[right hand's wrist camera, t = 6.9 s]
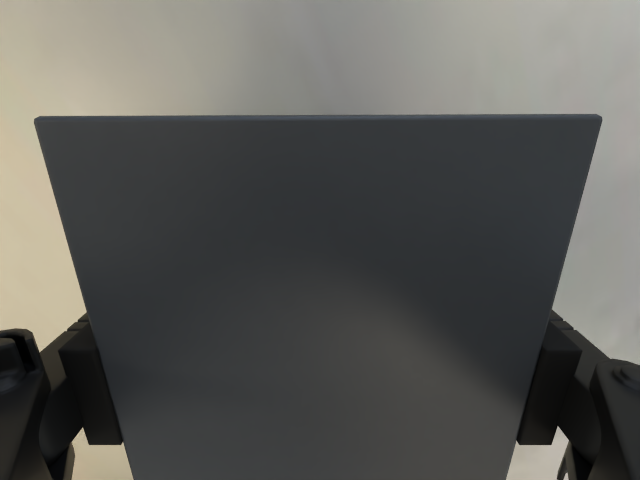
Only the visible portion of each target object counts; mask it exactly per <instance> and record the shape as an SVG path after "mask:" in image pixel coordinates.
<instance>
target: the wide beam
mask: <svg viewBox="0 0 640 480" xmlns="http://www.w3.org/2000/svg"><path fill="white" fill-rule="evenodd" d="M601 123H602V117H601V116H599V115H597V114H478V115H220V116H39V117H37V118H35V119H34V124H35V128H36V131H37V135H38V139H39V142H40V146H41V149H42V153H43V157H44V160H45V164H46V167H47V171H48V174H49V178H50V182H51V185H52V189H53V192H54V196H55V199H56V203H57V207H58V210H59V214H60V217H61V221H62V225H63V228H64V232H65V235H66V239H67V242H68V246H69V250H70V253H71V257H72V260H73V264H74V267H75V271H76V275H77V278H78V282H79V285H80V289H81V292H82V296H83V300H84V303H85V307H86V310H87V314H88V318H89V321H90V325H91V328H92V332H93V335H94V339H95V343H96V346H97V350H98V353H99V357H100V360H101V364H102V368H103V371H104V375H105V378H106V382H107V386H108V389H109V393H110V396H111V400H112V403H113V407H114V411H115V414H116V418H117V421H118V425H119V428H120V432H121V436H122V439H123V443H124V446H125V450H126V453H127V457H128V461H129V464H130V468H131V471H132V475H133V479H134V480H506V477H507V473H508V470H509V466H510V462H511V458H512V455H513V451H514V447H515V443H516V440H517V436H518V432H519V429H520V425H521V421H522V417H523V414H524V410H525V406H526V402H527V399H528V395H529V391H530V388H531V384H532V380H533V376H534V373H535V369H536V365H537V362H538V358H539V354H540V350H541V347H542V343H543V339H544V335H545V332H546V328H547V324H548V321H549V317H550V313H551V309H552V306H553V302H554V298H555V294H556V291H557V287H558V283H559V280H560V276H561V272H562V268H563V265H564V261H565V257H566V253H567V250H568V246H569V242H570V239H571V235H572V231H573V227H574V224H575V220H576V216H577V213H578V209H579V205H580V201H581V198H582V194H583V190H584V186H585V183H586V179H587V175H588V172H589V168H590V164H591V160H592V157H593V153H594V149H595V145H596V142H597V138H598V134H599V131H600V127H601Z"/></svg>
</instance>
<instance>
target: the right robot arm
mask: <svg viewBox="0 0 640 480" xmlns="http://www.w3.org/2000/svg"><path fill="white" fill-rule="evenodd" d="M557 426H559V428H560V429H561V430H562V432H563V433H564V434H565V436H566V437H567V438H568V439H569V442H568V445H567V448H566V451H565V454H564V456H563V459H562V462H561V465H560V468H559V470H558V475H557V479H558V480H563V479H564V476H565V474H566V473H567V472H568V478H569V480H640V365H637V364H634V363H631V362H628V361H623V360H617V359H610V358H608V357H607V356H606V355H605V354H604V353H603V352H601V351H600V350H599V349H598V348H597V347H595V346H594V345H593V344H592V343H591V342H590V341H588V340H587V339H586V338H585V337H584V336H583V335H581V334H580V333H579V332H578V331H577V330H574V329H573V327H572V326H571V325H570V324H568V323H567V322H566V321H563V319H562V318H561V317H560V316H559V315H558V314H557V313H555V312H554V311H553V310H552V309H551V313H550V317H549V321H548V324H547V328H546V332H545V335H544V339H543V343H542V347H541V350H540V354H539V358H538V362H537V365H536V369H535V373H534V376H533V380H532V384H531V388H530V391H529V395H528V399H527V402H526V406H525V410H524V414H523V417H522V421H521V425H520V429H519V432H518V436H517V442H518V443H519V445H551V444H552V441H553V438H554V435H555V432H556V429H557ZM82 427H83V428H84V431H85V434H86V437H87V440H88V443H89V445H121V444H122V442H123V439H122V436H121V432H120V428H119V425H118V421H117V418H116V414H115V411H114V407H113V403H112V400H111V396H110V393H109V389H108V386H107V382H106V378H105V375H104V371H103V368H102V364H101V360H100V357H99V353H98V350H97V346H96V343H95V339H94V335H93V332H92V328H91V325H90V321H89V318H88V314H87V313H85V314H84V315H83V316H82V317H81V318H80V319H78V322H75V323H74V324H73V325H71V326H70V327H69V328H68V329H67V331H64V332H63V333H62V334H61V335H60V336H59V337H57V338H56V339H55V340H54V341H53V342H52V343H50V344H49V345H48V346H47V347H46V348H45V349H43V350H42V351H41V352H40V353H39V350H38V347H37V344H36V341H35V339H34V336H33V333H32V332H30V331H29V330H27V329H9V330H2V331H0V480H71V479H72V472H73V466H74V459H75V453H74V448H73V445H72V441H73V439H74V438H75V437H76V435H77V434H78V433H79V431H80V430H81V429H82Z"/></svg>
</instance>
